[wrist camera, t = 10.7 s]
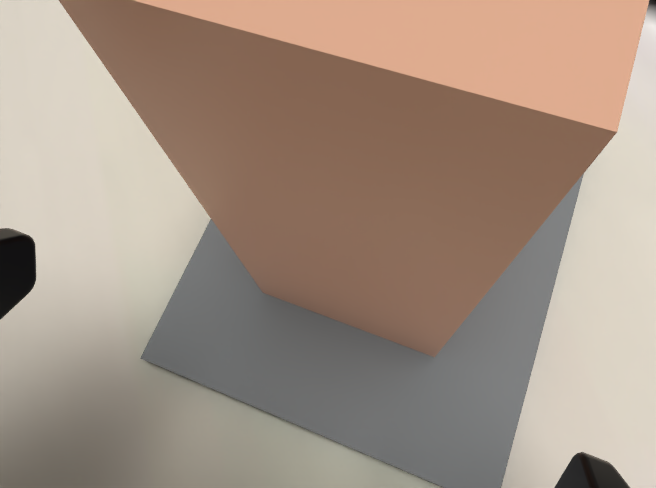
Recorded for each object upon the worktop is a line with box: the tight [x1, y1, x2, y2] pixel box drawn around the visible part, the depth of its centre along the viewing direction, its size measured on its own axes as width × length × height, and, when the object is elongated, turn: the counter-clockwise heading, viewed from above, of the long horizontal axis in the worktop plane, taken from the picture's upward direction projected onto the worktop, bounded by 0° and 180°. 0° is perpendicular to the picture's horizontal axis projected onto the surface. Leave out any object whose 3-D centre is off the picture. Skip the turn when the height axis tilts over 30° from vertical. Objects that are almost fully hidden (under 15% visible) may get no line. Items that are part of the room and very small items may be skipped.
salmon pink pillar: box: [59, 0, 649, 357], centre depth 11 cm, size 6×6×12 cm
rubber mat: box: [141, 173, 584, 488], centre depth 17 cm, size 12×11×1 cm
